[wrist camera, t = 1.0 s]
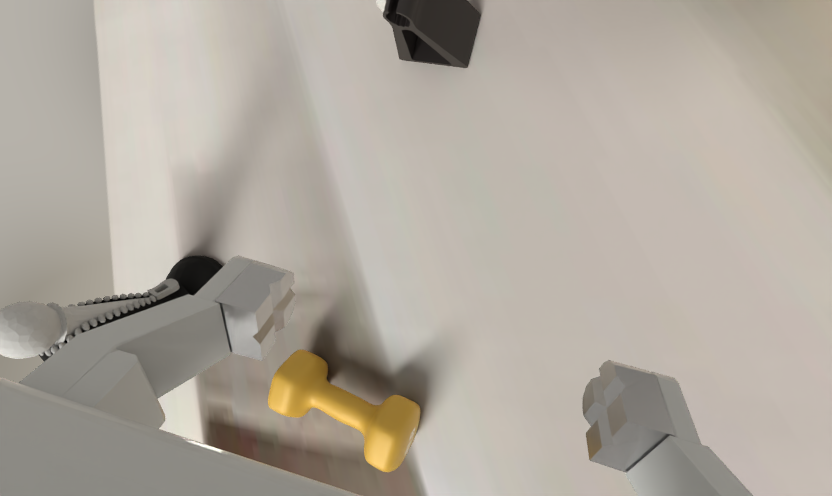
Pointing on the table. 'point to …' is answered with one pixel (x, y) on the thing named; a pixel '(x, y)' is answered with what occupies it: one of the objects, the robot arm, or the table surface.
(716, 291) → the table surface
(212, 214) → the table surface
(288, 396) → the dumbbell
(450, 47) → the phone stand
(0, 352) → the sculpture
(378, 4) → the flag on white base
